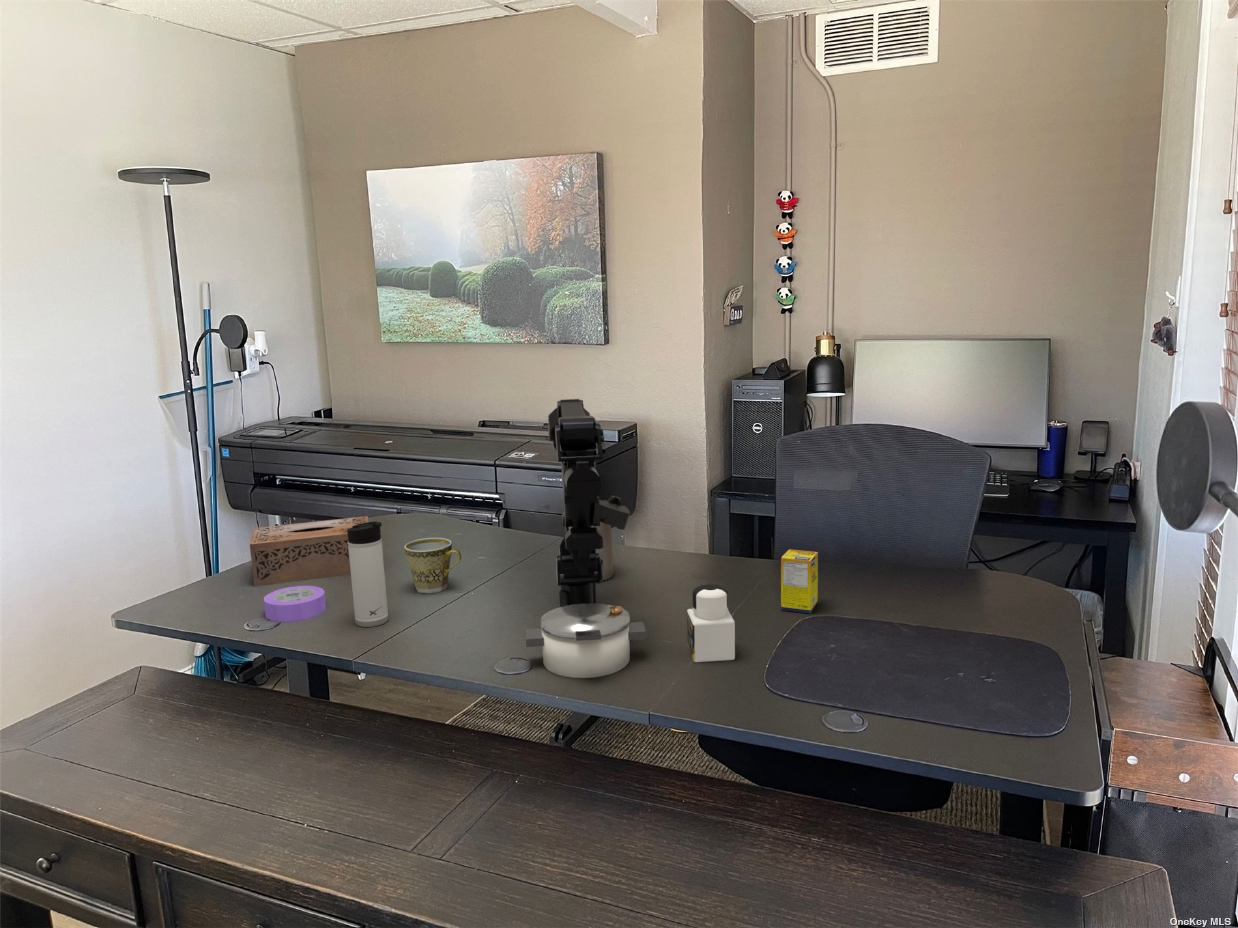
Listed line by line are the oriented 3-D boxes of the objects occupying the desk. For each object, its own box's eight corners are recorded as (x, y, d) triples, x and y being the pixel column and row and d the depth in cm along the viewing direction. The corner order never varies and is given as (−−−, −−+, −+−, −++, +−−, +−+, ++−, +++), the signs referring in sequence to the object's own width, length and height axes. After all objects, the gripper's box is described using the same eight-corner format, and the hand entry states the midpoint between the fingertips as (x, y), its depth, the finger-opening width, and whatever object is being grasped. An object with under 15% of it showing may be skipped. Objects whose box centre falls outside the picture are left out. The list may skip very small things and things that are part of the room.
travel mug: (381, 628, 171) (372, 527, 167) (349, 626, 172) (340, 527, 168) (395, 616, 177) (387, 519, 173) (364, 614, 178) (356, 518, 174)
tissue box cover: (371, 555, 219) (367, 516, 217) (374, 572, 205) (370, 531, 203) (258, 568, 211) (254, 527, 209) (254, 587, 198) (249, 544, 196)
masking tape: (303, 598, 190) (301, 581, 189) (338, 608, 183) (336, 591, 182) (253, 616, 180) (251, 598, 179) (288, 627, 174) (286, 608, 173)
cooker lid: (540, 612, 160) (540, 601, 159) (625, 607, 161) (624, 596, 161) (541, 645, 143) (541, 633, 143) (635, 639, 144) (635, 627, 144)
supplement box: (817, 604, 177) (818, 551, 174) (810, 614, 171) (811, 560, 169) (788, 600, 179) (788, 548, 177) (780, 610, 174) (780, 557, 172)
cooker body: (527, 643, 162) (526, 612, 160) (639, 636, 163) (638, 605, 162) (527, 682, 146) (525, 647, 145) (650, 673, 148) (649, 639, 147)
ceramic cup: (398, 593, 190) (394, 548, 188) (425, 578, 199) (422, 535, 197) (450, 600, 185) (447, 554, 183) (475, 584, 194) (472, 540, 192)
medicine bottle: (687, 646, 158) (686, 582, 156) (726, 643, 159) (726, 579, 156) (693, 663, 151) (692, 596, 149) (735, 660, 152) (735, 593, 150)
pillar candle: (599, 566, 204) (596, 503, 201) (621, 577, 196) (618, 511, 193) (562, 574, 199) (558, 510, 196) (583, 586, 191) (579, 519, 188)
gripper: (631, 499, 147) (634, 588, 150) (620, 475, 165) (622, 556, 168) (564, 502, 146) (568, 593, 149) (560, 478, 164) (564, 559, 167)
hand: (583, 574), depth 159 cm, fingers closed
